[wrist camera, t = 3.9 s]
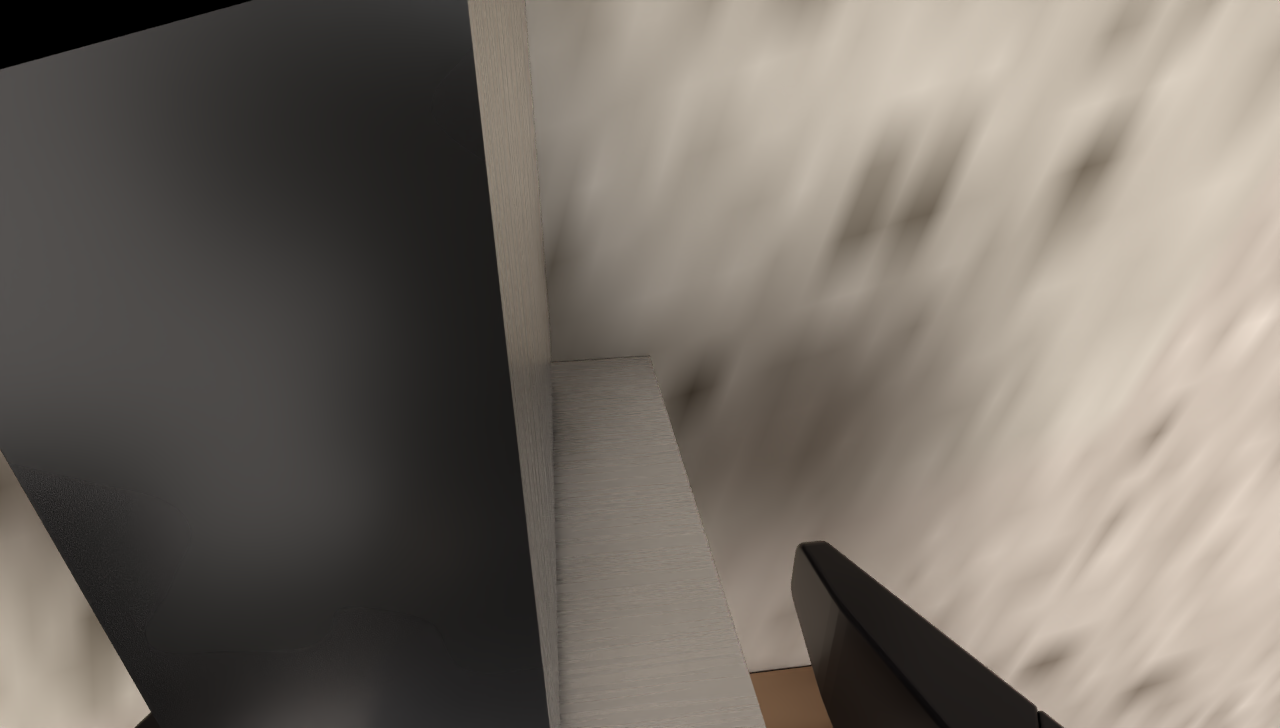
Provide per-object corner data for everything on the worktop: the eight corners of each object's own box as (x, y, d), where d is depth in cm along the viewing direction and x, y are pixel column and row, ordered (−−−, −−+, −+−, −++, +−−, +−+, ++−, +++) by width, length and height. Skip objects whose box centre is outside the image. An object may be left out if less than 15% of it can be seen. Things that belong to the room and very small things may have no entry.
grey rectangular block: (522, -26, 9) (449, -153, 2) (549, 334, 11) (562, 840, 4) (369, -26, 9) (-359, -173, 2) (432, 341, 11) (252, 886, 4)
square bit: (649, 355, 12) (947, 1308, 3) (649, 506, 14) (843, 1399, 5) (451, 369, 11) (171, 1499, 3) (476, 521, 13) (350, 1526, 4)
